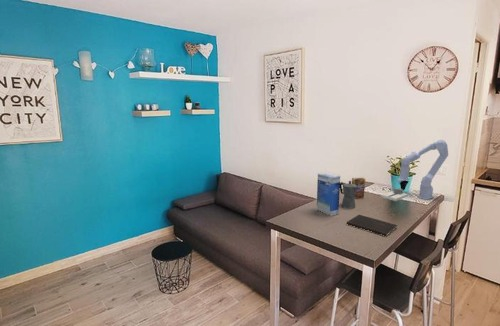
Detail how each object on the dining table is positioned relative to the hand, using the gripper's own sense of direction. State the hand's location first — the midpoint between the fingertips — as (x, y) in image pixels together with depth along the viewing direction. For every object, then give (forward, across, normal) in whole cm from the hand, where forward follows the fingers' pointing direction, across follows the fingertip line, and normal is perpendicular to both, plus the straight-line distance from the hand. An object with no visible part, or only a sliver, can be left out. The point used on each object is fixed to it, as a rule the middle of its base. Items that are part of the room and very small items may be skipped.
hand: (402, 189), depth 224 cm
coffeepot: (+4, +55, -10) cm, 56 cm away
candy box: (+4, +35, -16) cm, 39 cm away
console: (+3, +12, 0) cm, 12 cm away
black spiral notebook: (+4, +73, +20) cm, 75 cm away
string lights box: (+4, +76, -10) cm, 77 cm away
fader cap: (+1, +7, 0) cm, 7 cm away
